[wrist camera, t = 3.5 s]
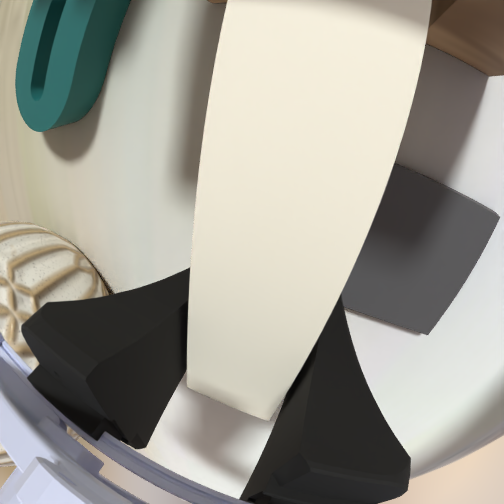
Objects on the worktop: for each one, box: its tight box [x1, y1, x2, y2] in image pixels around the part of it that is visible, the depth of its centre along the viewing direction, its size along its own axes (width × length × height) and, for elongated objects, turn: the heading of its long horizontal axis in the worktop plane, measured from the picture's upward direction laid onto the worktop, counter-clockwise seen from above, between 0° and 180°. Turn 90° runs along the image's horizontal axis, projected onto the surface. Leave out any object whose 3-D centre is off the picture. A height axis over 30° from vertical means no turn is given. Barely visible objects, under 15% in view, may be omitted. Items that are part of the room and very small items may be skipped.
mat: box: [341, 163, 500, 335], centre depth 9 cm, size 5×6×1 cm
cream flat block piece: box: [187, 0, 432, 421], centre depth 8 cm, size 3×12×6 cm, turn 168°
